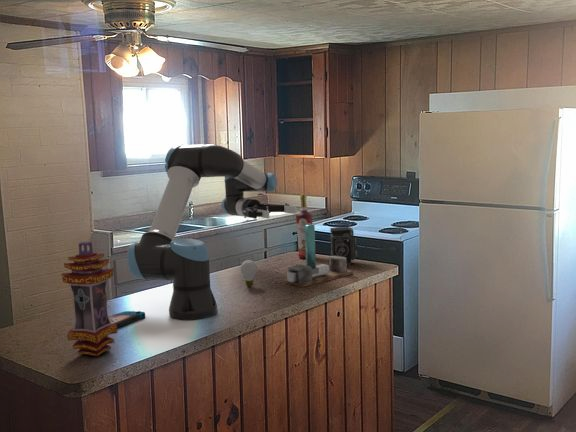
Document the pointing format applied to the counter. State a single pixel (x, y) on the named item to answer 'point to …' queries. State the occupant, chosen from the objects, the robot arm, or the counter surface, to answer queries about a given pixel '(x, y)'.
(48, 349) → the counter surface
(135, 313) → the gaming console
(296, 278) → the tube
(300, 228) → the liquor
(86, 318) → the lantern
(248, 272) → the light bulb
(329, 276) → the bench
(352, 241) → the camera
